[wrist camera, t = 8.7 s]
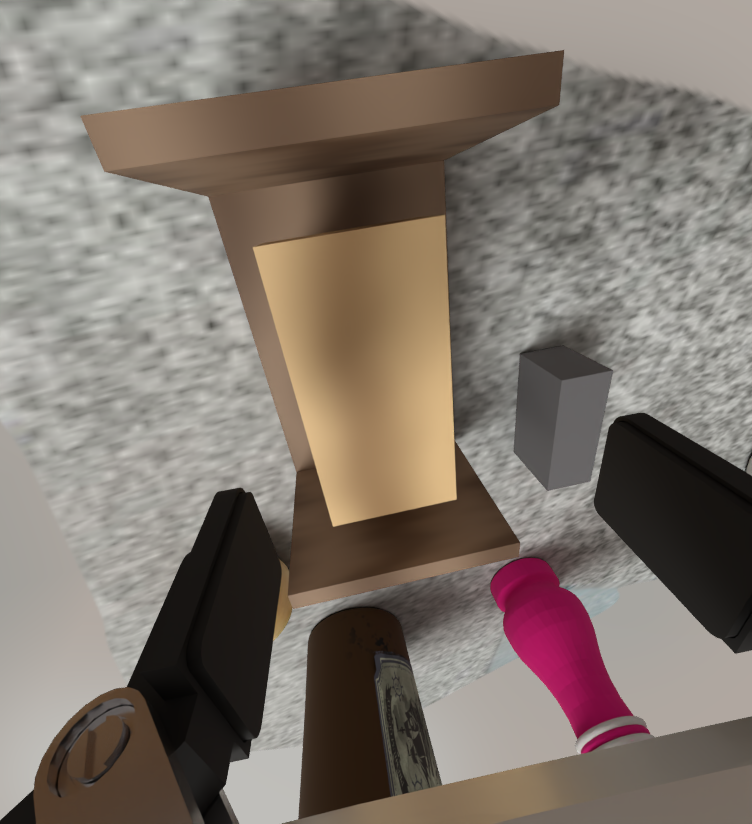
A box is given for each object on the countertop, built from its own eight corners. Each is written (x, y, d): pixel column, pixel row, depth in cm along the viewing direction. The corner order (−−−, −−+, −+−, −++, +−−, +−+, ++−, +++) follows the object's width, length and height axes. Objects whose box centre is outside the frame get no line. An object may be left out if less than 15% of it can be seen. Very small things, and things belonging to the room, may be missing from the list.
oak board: (424, 216, 13) (445, 214, 11) (441, 468, 19) (456, 499, 17) (262, 243, 13) (252, 247, 11) (331, 492, 19) (333, 526, 16)
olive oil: (345, 676, 39) (384, 1260, 17) (278, 639, 34) (212, 1397, 12) (426, 631, 37) (585, 1218, 15) (367, 586, 32) (480, 1358, 10)
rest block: (563, 345, 23) (613, 370, 19) (550, 444, 27) (590, 481, 23) (520, 353, 23) (561, 380, 19) (513, 451, 27) (547, 490, 23)
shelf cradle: (436, 138, 17) (564, 50, 8) (450, 443, 26) (518, 556, 17) (206, 172, 16) (80, 115, 8) (300, 474, 25) (293, 608, 16)
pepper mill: (568, 558, 35) (824, 897, 17) (529, 604, 37) (715, 936, 20) (507, 548, 32) (730, 925, 15) (472, 598, 35) (624, 963, 18)
